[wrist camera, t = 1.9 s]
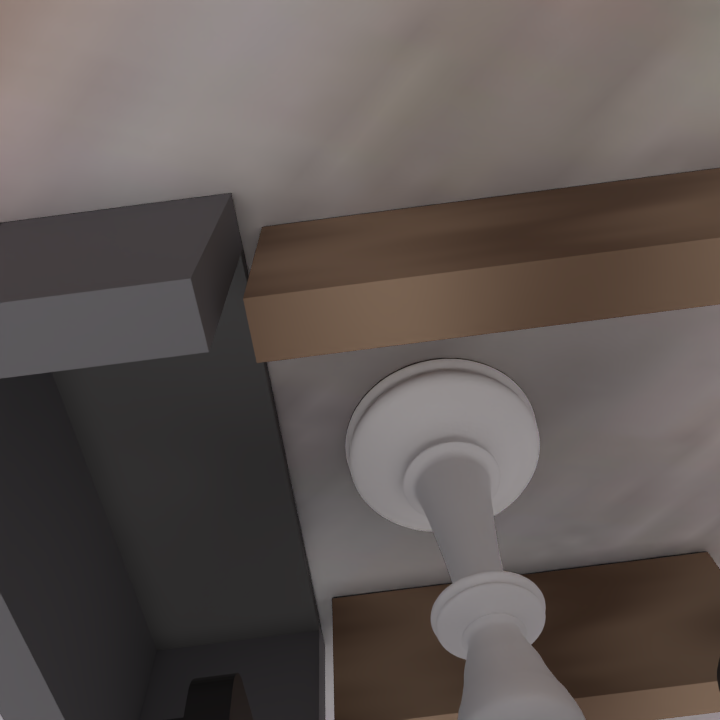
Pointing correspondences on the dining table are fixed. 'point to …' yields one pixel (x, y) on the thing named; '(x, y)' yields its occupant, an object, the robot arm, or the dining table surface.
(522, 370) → the dining table surface
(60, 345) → the grey channel bracket
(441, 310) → the wooden blocks
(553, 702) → the chess piece
